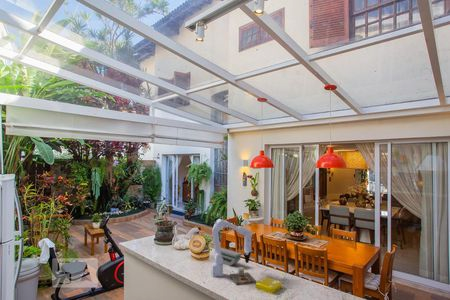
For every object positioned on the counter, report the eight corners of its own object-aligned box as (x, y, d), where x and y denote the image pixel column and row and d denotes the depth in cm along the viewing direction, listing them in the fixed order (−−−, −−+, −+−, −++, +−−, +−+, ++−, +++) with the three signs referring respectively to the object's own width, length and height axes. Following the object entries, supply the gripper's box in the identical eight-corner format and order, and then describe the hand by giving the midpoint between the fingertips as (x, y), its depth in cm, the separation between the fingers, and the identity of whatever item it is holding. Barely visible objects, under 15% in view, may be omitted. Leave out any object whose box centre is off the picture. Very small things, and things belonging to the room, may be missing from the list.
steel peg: (239, 278, 214) (239, 269, 214) (237, 276, 217) (237, 267, 218) (243, 277, 215) (243, 268, 215) (242, 275, 219) (242, 267, 219)
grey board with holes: (236, 284, 201) (236, 282, 202) (229, 276, 218) (229, 273, 218) (256, 282, 206) (256, 280, 206) (248, 274, 222) (248, 272, 222)
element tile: (265, 282, 208) (265, 275, 209) (283, 287, 199) (283, 281, 199) (254, 288, 197) (254, 281, 197) (273, 295, 187) (273, 287, 188)
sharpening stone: (215, 261, 252) (215, 249, 253) (220, 259, 258) (221, 247, 258) (235, 268, 235) (235, 255, 236) (241, 265, 241) (241, 253, 242)
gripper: (251, 247, 218) (251, 264, 217) (253, 242, 232) (252, 258, 231) (243, 246, 219) (242, 263, 218) (244, 242, 234) (244, 258, 233)
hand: (247, 261), depth 225 cm, fingers open, 7 cm apart
